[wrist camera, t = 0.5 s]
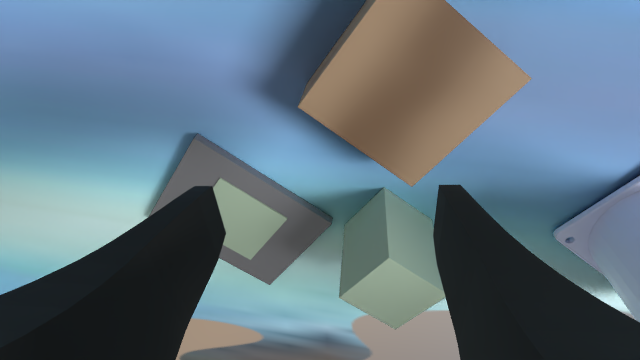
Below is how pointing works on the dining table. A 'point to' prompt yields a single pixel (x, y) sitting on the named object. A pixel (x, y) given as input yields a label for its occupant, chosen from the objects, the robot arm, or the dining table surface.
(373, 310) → the sage block
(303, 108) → the walnut slab
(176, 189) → the card
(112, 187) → the dining table surface
